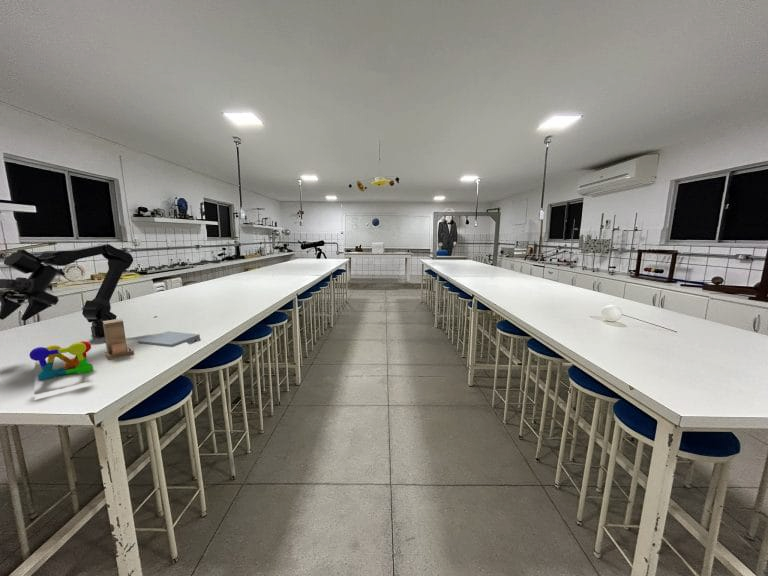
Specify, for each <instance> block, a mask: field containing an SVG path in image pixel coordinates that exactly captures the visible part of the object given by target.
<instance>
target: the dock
mask: <svg viewBox="0 0 768 576" xmlns="http://www.w3.org/2000/svg"><path fill="white" fill-rule="evenodd" d="M197 339H198V340H200V339H201V335H200V334H199V333H188V332H180V331H179V332H178V331H167V330H166V331H163V332H162V333H158V334H155V335H152V336H148V337H145V338H142V339H138V340H137V344H144V345H154V346H162V347H163V346H164V347H175V346H177V345H180V344H182V343H186V344H190V343H193V342H195V341H194V340H196V341H198V340H197ZM192 341H193V342H192ZM189 342H190V343H189Z"/></svg>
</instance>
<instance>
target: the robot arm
mask: <svg viewBox="0 0 768 576" xmlns="http://www.w3.org/2000/svg"><path fill="white" fill-rule="evenodd" d="M100 255H102V257H103V258H104V259H106V260H107V266H108V270H107V272H106V274H105V276H104V278H103V281H102V282H101V284H100V287H99V289H98V291H97V293H96V295H95V297H94V298H93V299H92V300H86V301H85V303H84V306H83V307H82V308H81V310H82V313H81V315H83V317H84V318H85V319H86V321H87V323H91V326H90V330H91V331H90V332H91V335H90V336H91V337H93V338H94V337H95V338H105V334H104V327H103V321H108V320H115V319H117V317H118V316H117V315H116V314H114V313H113V312H112V311H111V310H112V308H111V307H112V306H111V299H112V296H113V294H114V292H115V290H116V287H117V286H118V284H119V281H120V279H121V277H122V275H123V273H124V272H125V271H127V270H128V269H129V268H130V267H131V266H132V264H133V262H134V257H133V256H132V254H131V253H128V252H126V251H124V250H121V249H119V248H116V247H114V246H112V245H111V244H108V243H99V244H97V245H91V246H85V247H80V248H75V249H67V250H66V249H65V250H62V249H61V250H46V251H43V252H42V253H41V254H40V255H34V254H33V253H32V254H31V253H30V252H29V251H27V250H25V249H17V251H15V252H12V253H11V254H10V255H8V256H6V257H5V258H4V260H3V264H4V265H5V266H8V267H10V268H12V269H13V270H16V271H18V272H19V273H22V274H30V275H29V276H28V278H27V277H16V278H15V279H11V278H0V289H3V290H0V320H1V321H2V320H4V319H6V318H7V317H9V316H10V315H11V314H13V313H14V312H15V311H16V310H18V309H19V308H20V307H22V306H23V303H25V301H27V303H28V305H27V307H26V308H25V310H24V312H23V314H22V316H21V319H20V320H21V321H23V322H25V321H28V320H29V319H31V318H33V317H34V316H35V315H37V314H39V313H42V311H44V310H46V309H49V308H51V307H53V306H57V304H58V303H59V301H60V300H59V297H58V296H56V295H53V294H51V293H48V292H47V290H51V289H52V288H53V286H51V284H52V282H53V281H54V280H55V278H56V276H57V277H59V276H60V277H65V276H66V274H65V272H64V271H63V268H56V267H65V266H69V265H70V264H73V263H74V262H76V261H79V260H81V259H82V260H83V259H86V258H90V257H95V256H100ZM7 289H8V290H7ZM9 289H10V290H9Z"/></svg>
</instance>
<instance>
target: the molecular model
mask: <svg viewBox="0 0 768 576" xmlns="http://www.w3.org/2000/svg"><path fill="white" fill-rule="evenodd" d="M91 349H92V344H91V343H90V342H89V341H85V340H84V341H82V340H81V341H78V342H77V341H76V342H74V343H72V344H70V345H69V346H68V347H60V345H55V344H51V345H49V346H47V347H44V346H39V347H35V348H33V349H32V350H31V351H30V353H29V358H30V359H31V360H32V361H35V362H36V361H38V363H39V366H40V367H41V371H40V372H39V373H38V376H37V377H38V380H40V381H47V380H51V379H53V378H56V377H59V376H64V375H69V374H80V375H81V374H82V375H83V374H87V373H90V372H92V371H93V370H94V366H93V364H91V363H89V362H88V359H87V353H88V352H90V350H91ZM63 353H69V355H73V356H74V357H73V358H70V357H68V356H66V355H64V354H63ZM55 358H58V359H60V360H62V361H63V362H65V365H64V366H61V367H58V368H56V369H54V367H53V366H54V362H55ZM46 359H47V360H46Z"/></svg>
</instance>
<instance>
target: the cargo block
mask: <svg viewBox="0 0 768 576" xmlns="http://www.w3.org/2000/svg"><path fill="white" fill-rule="evenodd" d="M126 345H127V344H126ZM126 345H125V344H124V343H120V344H115V345H111V349H112V355H114V354H119V353H124V352H127V351H128V350H127V351H126Z"/></svg>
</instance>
